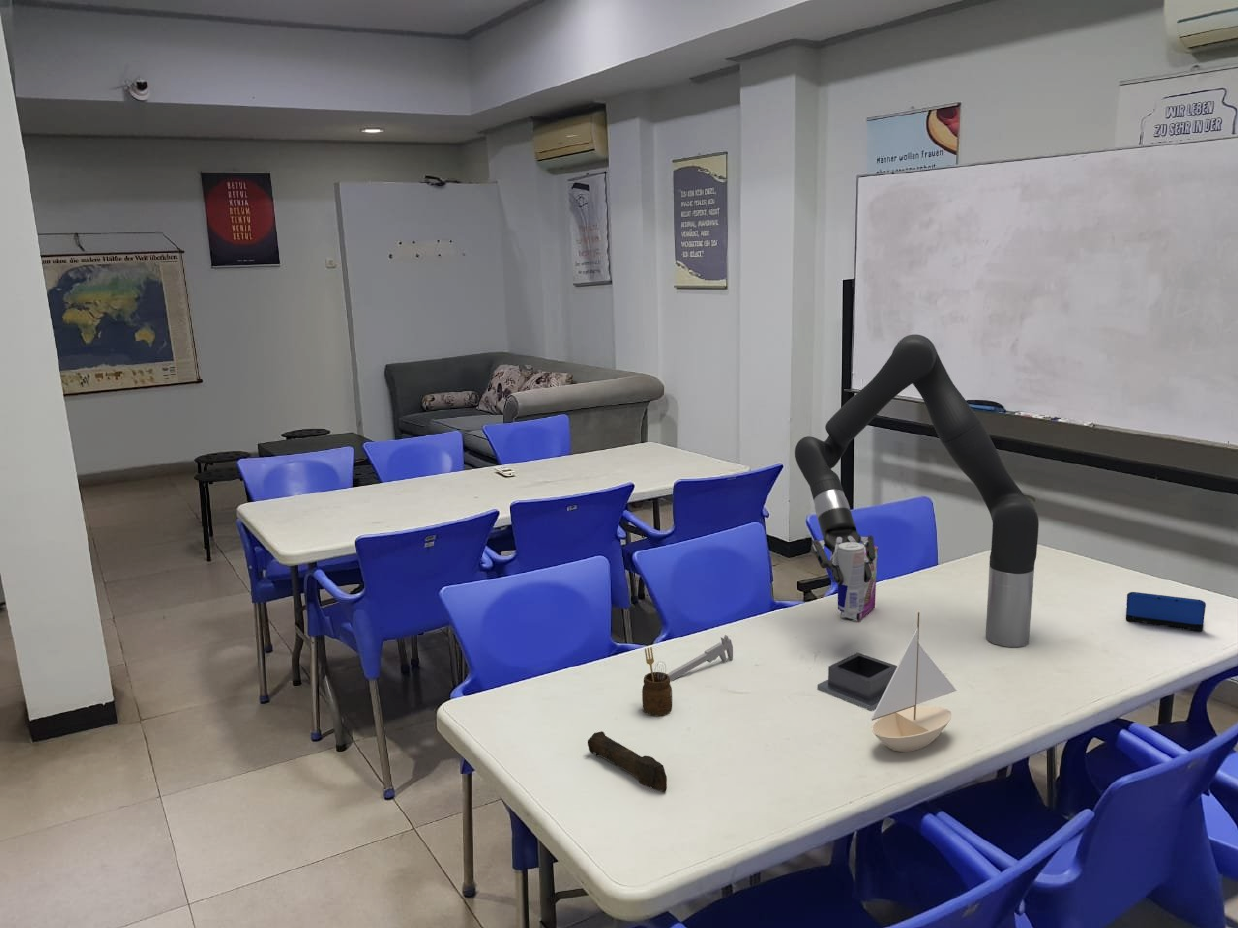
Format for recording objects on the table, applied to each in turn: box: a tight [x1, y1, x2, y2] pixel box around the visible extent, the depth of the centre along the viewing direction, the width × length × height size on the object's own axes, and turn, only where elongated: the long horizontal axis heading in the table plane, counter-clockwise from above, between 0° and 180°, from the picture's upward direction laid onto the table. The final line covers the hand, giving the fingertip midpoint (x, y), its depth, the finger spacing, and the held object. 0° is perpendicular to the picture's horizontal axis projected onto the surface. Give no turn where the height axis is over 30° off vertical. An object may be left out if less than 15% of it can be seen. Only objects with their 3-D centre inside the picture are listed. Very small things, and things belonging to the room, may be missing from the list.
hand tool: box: [587, 730, 668, 792], centre depth 161 cm, size 19×4×5 cm, turn 38°
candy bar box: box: [840, 543, 879, 622], centre depth 228 cm, size 11×5×16 cm, turn 144°
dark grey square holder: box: [817, 652, 898, 712], centre depth 189 cm, size 13×13×5 cm
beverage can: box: [837, 542, 865, 614], centre depth 202 cm, size 6×6×15 cm
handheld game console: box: [1125, 591, 1207, 633], centre depth 217 cm, size 16×13×9 cm
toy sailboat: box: [870, 611, 957, 753], centre depth 166 cm, size 21×25×9 cm
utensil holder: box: [641, 646, 673, 717], centre depth 183 cm, size 6×6×12 cm
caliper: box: [667, 634, 734, 682], centre depth 200 cm, size 20×1×6 cm, turn 124°
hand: (854, 581), depth 201 cm, fingers closed on beverage can, 5 cm apart
